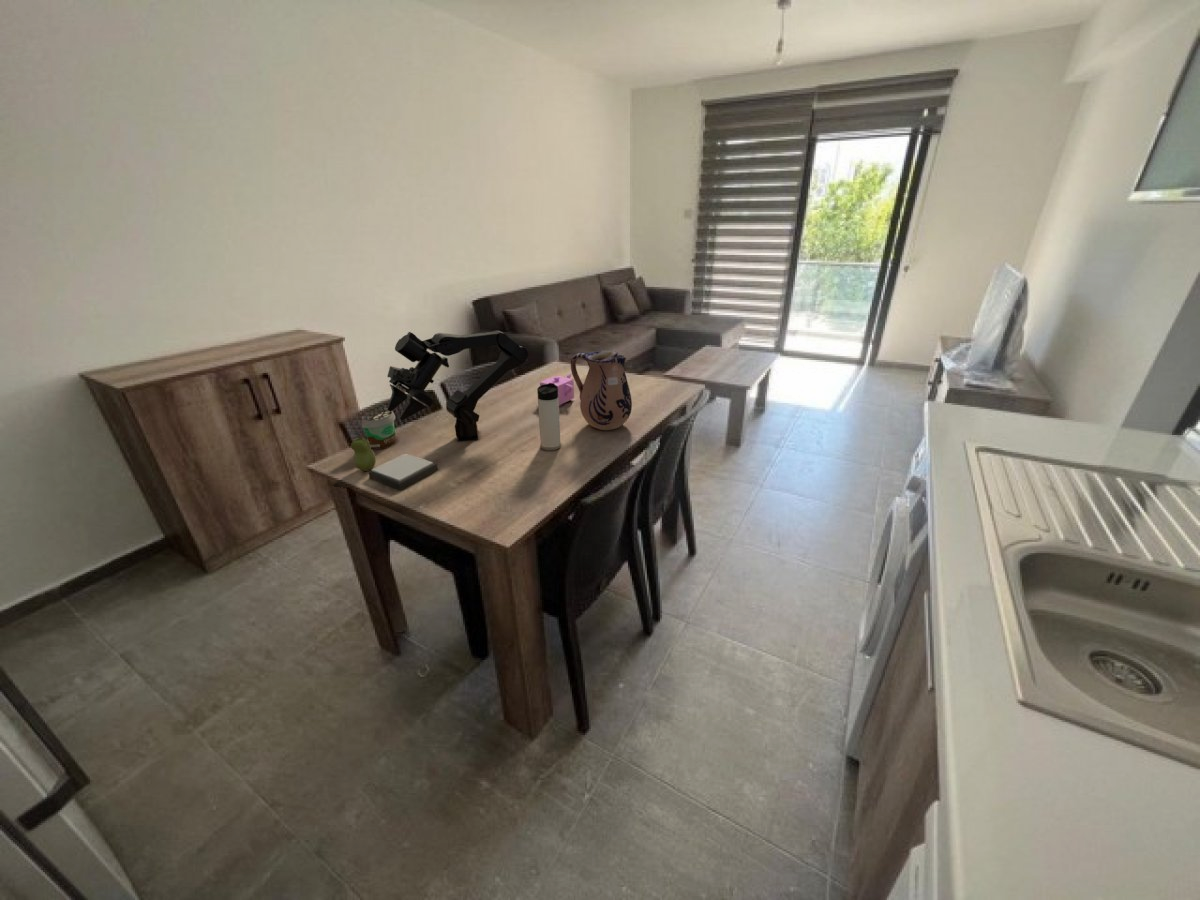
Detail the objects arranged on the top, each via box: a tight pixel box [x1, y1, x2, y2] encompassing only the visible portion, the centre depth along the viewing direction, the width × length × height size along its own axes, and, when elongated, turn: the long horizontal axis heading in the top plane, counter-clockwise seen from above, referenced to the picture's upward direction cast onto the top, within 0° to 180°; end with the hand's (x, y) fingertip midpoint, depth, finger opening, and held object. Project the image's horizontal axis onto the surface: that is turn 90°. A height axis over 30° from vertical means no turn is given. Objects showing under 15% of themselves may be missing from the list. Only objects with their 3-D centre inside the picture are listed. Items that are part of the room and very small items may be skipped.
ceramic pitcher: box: [570, 350, 633, 431], centre depth 161 cm, size 18×21×25 cm
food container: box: [361, 407, 397, 450], centre depth 152 cm, size 12×6×10 cm, turn 168°
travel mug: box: [536, 383, 562, 452], centre depth 147 cm, size 6×7×20 cm
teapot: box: [539, 373, 575, 407], centre depth 185 cm, size 18×14×10 cm
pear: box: [350, 436, 377, 472], centre depth 136 cm, size 6×5×10 cm
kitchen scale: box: [367, 453, 439, 491], centre depth 136 cm, size 13×13×3 cm
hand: (394, 415), depth 140 cm, fingers open, 9 cm apart
